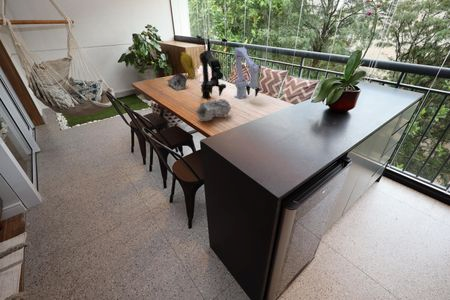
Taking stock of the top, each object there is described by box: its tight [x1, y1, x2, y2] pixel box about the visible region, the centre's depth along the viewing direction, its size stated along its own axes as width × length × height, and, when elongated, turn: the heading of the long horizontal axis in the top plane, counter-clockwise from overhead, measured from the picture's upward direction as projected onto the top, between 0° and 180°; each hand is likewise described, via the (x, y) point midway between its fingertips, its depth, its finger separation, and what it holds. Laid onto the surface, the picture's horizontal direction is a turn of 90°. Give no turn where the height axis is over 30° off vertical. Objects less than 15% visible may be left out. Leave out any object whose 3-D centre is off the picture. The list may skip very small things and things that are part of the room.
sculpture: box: [180, 51, 196, 79], centre depth 254 cm, size 20×27×30 cm
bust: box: [195, 98, 232, 123], centre depth 155 cm, size 17×17×28 cm
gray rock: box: [166, 72, 188, 91], centre depth 228 cm, size 19×8×30 cm
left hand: (215, 95), depth 175 cm, fingers open, 9 cm apart
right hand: (252, 95), depth 184 cm, fingers open, 7 cm apart
